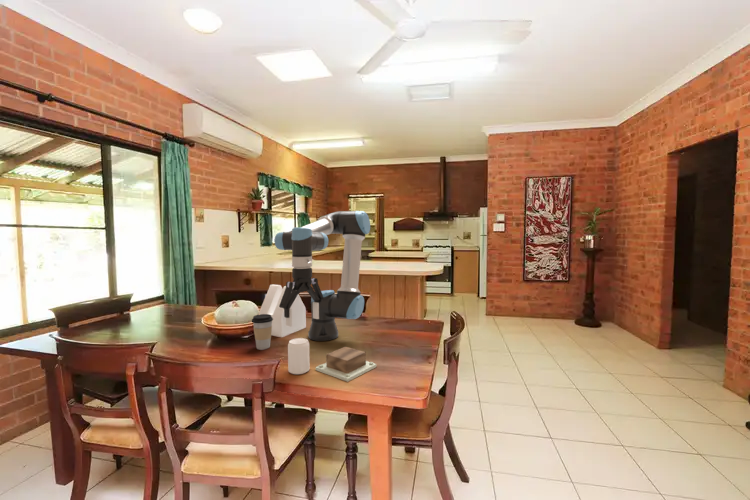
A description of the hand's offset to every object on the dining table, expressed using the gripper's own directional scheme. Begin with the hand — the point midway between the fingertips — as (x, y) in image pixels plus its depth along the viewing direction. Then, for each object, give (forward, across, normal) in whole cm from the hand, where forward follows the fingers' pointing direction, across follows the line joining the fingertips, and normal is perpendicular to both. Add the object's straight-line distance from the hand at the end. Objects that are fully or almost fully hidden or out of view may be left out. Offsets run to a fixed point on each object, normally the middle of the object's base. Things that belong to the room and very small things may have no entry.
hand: (302, 322), depth 135 cm
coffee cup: (+19, +6, +35) cm, 40 cm away
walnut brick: (+18, +12, -12) cm, 25 cm away
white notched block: (+19, +28, +48) cm, 59 cm away
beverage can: (+20, -1, +1) cm, 20 cm away
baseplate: (+19, +12, -12) cm, 25 cm away
